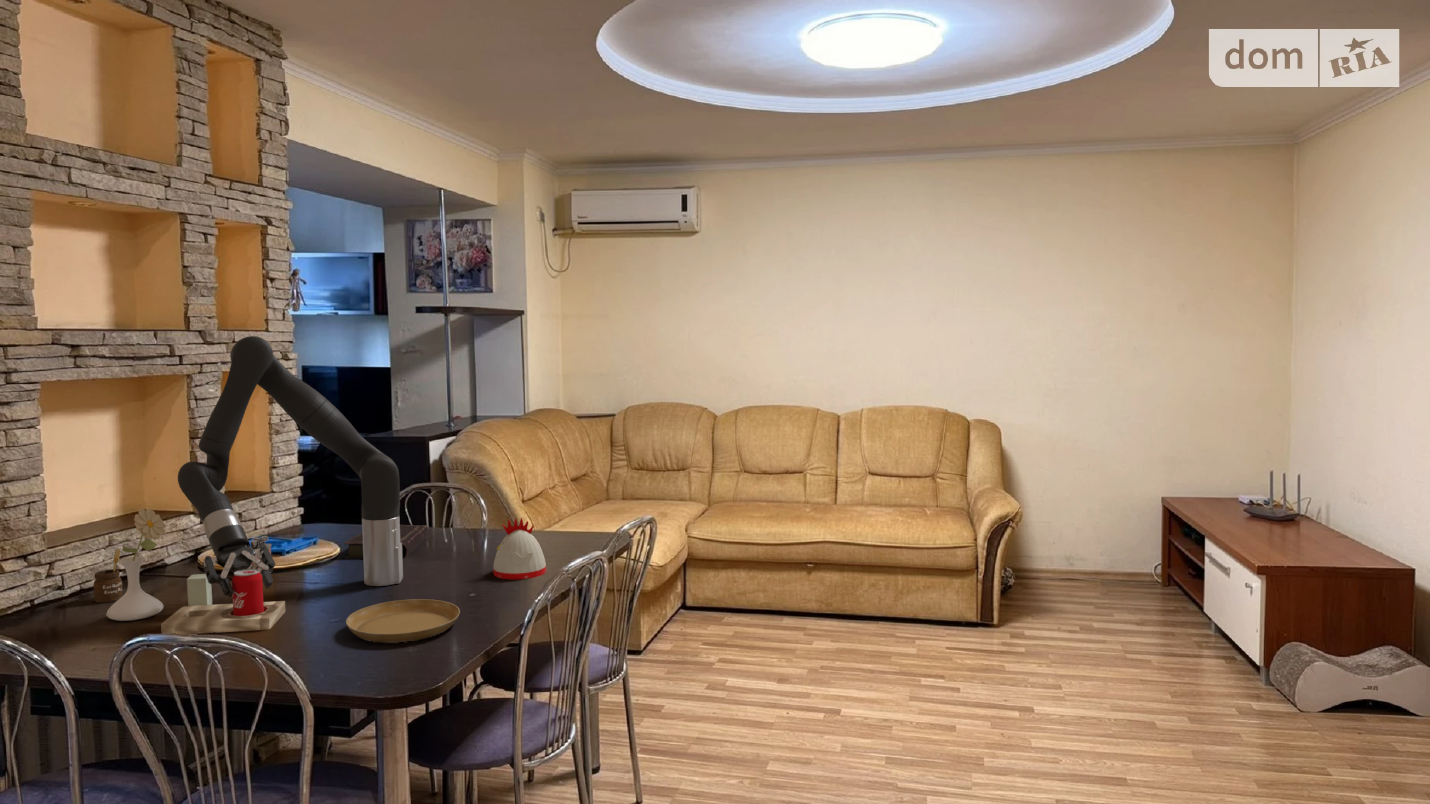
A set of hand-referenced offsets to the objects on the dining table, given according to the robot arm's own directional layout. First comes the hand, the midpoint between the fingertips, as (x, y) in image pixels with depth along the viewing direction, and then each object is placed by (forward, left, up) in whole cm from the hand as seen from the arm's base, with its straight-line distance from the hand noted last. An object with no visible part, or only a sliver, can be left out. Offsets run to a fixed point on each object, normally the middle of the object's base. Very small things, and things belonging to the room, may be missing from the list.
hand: (250, 590), depth 216 cm
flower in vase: (+28, -11, -8) cm, 31 cm away
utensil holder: (+41, -27, -8) cm, 50 cm away
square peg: (+14, -11, -8) cm, 19 cm away
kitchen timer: (-58, -34, -8) cm, 68 cm away
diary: (-18, -71, -9) cm, 73 cm away
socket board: (+6, -1, -8) cm, 10 cm away
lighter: (+11, -45, -8) cm, 47 cm away
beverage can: (+1, -1, -8) cm, 8 cm away
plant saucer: (-34, +9, -8) cm, 36 cm away
